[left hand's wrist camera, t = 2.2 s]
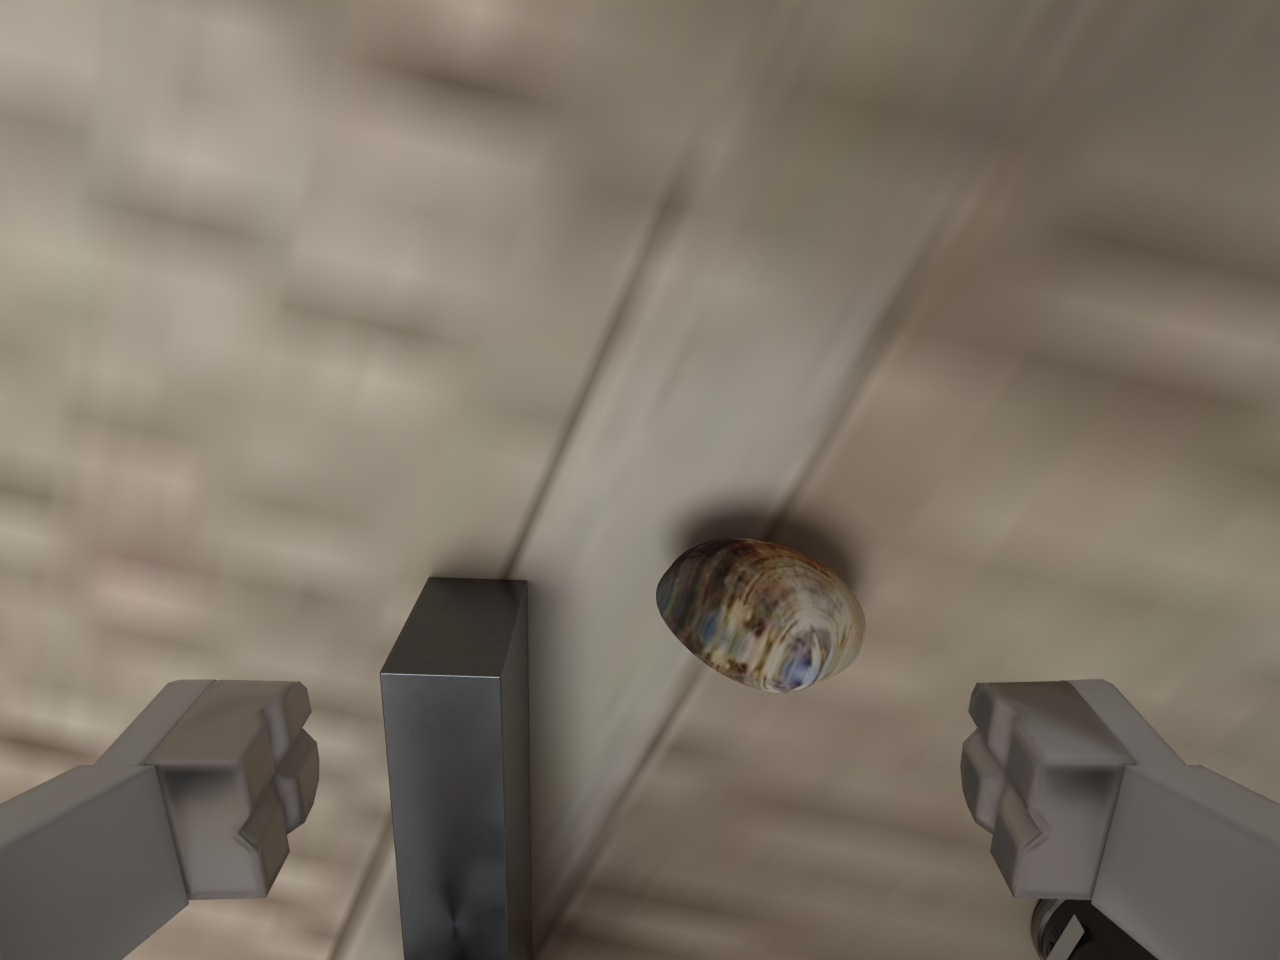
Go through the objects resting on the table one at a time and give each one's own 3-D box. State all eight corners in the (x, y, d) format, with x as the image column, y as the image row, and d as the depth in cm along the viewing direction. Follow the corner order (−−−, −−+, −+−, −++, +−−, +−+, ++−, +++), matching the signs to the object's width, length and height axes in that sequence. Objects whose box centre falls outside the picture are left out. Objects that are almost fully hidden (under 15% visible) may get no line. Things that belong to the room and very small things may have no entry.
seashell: (869, 548, 39) (922, 639, 32) (822, 649, 41) (862, 757, 34) (676, 488, 38) (684, 568, 31) (637, 595, 40) (636, 694, 33)
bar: (428, 577, 40) (379, 672, 33) (527, 580, 40) (500, 676, 33) (451, 972, 49) (417, 1117, 42) (532, 974, 49) (512, 1119, 42)
